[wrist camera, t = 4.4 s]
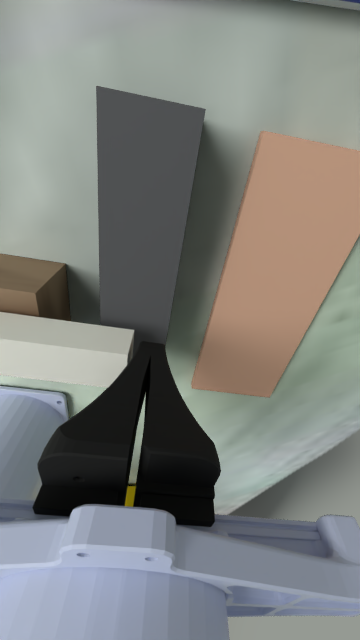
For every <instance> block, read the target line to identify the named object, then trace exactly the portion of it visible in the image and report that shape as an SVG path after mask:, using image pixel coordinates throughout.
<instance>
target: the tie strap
mask: <svg viewBox="0 0 360 640" xmlns="http://www.w3.org/2000/svg"><path fill="white" fill-rule="evenodd" d="M133 341H134V330H130V329H123V328H116V327H108V326H101V325H93V324H86V323H79V322H71V321H64V320H57V319H49V318H42V317H34V316H27V315H20V314H12V313H5V312H0V375H3V376H11V377H20V378H29V379H37V380H46V381H55V382H63V383H72V384H81V385H89V386H98V387H107V388H108V387H109V386H110V385H111V384H112V383H113V382H114V381H115V379H116V378H117V377H118V376H119V375H120V373H121V372H122V371H123V370H124V368H125V367H126V366H127V364H128V363H129V361H130V360H131V359H132V354H133Z"/></svg>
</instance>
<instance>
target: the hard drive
mask: <svg viewBox="0 0 360 640" xmlns="http://www.w3.org/2000/svg"><path fill="white" fill-rule="evenodd" d="M292 1H298V2H305V3H312V4H318V5H325V6H332V7H339V8H345V9H352V10H359V11H360V0H292Z"/></svg>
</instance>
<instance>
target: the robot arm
mask: <svg viewBox="0 0 360 640" xmlns="http://www.w3.org/2000/svg"><path fill="white" fill-rule="evenodd" d="M145 393H146V400H145V420H144V431H143V439H142V446H141V453H140V460H139V467H138V474H137V481H136V488H135V496H134V503H133V507H128V506H125V500H126V494H127V487H128V481H129V475H130V468H131V462H132V456H133V449H134V443H135V437H136V430H137V425H138V421H139V417H140V413H141V409H142V405H143V401H144V397H145ZM220 472H221V469H220V462H219V458H218V454H217V451H216V448H215V445H214V443H213V441H212V440H211V439H210V438H209V437H208V436H207V434H206V433H205V432H204V430H203V429H202V428H201V427H200V425H199V424H198V422H197V421H196V420H195V418H194V417H193V415H192V414H191V412H190V410H189V409H188V407H187V406H186V404H185V402H184V400H183V399H182V397H181V395H180V393H179V391H178V388H177V386H176V384H175V381H174V379H173V376H172V374H171V371H170V368H169V364H168V361H167V357H166V352H165V345H164V344H161V343H153V342H146V341H142V342H140V344H139V347H138V349H137V350H136V352H135V354H134V355H133V357H132V359H131V360H130V361H129V363H128V364H127V366H126V367H125V368H124V370H123V371H122V372H121V373H120V375H119V376H118V377H117V378H116V379H115V381H114V382H113V383H112V384H111V385H110V386H109V387H108V388H107V389H106V390H105V391H104V392H103V393H102V394H101V395H100V396H99V397H98V398H96V399H95V400H94V401H93V402H92V403H91V404H89V405H88V406H87V407H85V408H84V409H83V410H82V411H80V412H79V413H78V414H76V415H75V416H74V417H72V418H71V419H69V416H68V408H67V401H66V396H65V395H64V394H63V393H60V392H51V391H42V390H33V389H24V388H15V387H6V386H0V640H230V639H229V629H228V618H227V617H250V616H251V617H252V616H353V617H354V616H358V615H360V528H359V526H358V524H357V522H356V520H355V518H354V517H352V516H342V515H324V516H321V517H320V518H319V519H318V520H317V521H316V522H307V521H294V520H281V519H269V518H256V517H242V516H230V515H217V514H214V503H213V499H214V498H215V493H214V485H215V483H216V481H217V479H218V478H219V476H220Z"/></svg>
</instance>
